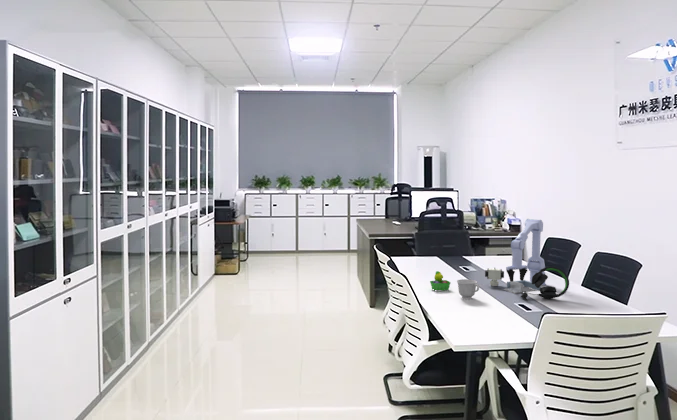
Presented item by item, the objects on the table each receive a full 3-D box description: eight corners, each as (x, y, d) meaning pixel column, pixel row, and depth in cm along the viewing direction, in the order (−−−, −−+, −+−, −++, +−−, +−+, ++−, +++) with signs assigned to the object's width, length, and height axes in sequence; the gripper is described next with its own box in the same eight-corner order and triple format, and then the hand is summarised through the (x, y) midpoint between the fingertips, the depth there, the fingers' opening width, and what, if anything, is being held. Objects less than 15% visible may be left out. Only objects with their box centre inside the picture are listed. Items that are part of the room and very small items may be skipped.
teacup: (471, 302, 276) (471, 285, 275) (452, 297, 288) (452, 280, 288) (485, 299, 282) (486, 283, 281) (466, 294, 295) (466, 278, 294)
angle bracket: (522, 293, 298) (523, 283, 297) (514, 294, 296) (515, 284, 295) (512, 289, 307) (512, 280, 307) (504, 290, 305) (504, 281, 305)
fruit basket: (434, 291, 303) (434, 273, 302) (428, 288, 312) (428, 270, 311) (451, 290, 305) (451, 272, 304) (445, 287, 314) (445, 270, 313)
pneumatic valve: (503, 287, 314) (504, 268, 313) (484, 285, 317) (485, 267, 316) (503, 285, 319) (504, 267, 318) (485, 284, 323) (485, 266, 322)
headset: (529, 312, 286) (573, 289, 284) (531, 308, 274) (578, 284, 272) (512, 286, 294) (555, 263, 292) (513, 281, 281) (559, 257, 280)
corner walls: (524, 285, 318) (524, 280, 318) (540, 290, 304) (541, 285, 304) (506, 287, 314) (506, 281, 314) (522, 292, 300) (522, 286, 299)
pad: (523, 286, 315) (523, 286, 315) (536, 290, 303) (536, 290, 303) (509, 287, 311) (509, 287, 311) (522, 292, 300) (522, 291, 300)
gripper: (511, 261, 294) (511, 283, 295) (531, 259, 299) (530, 281, 300) (504, 259, 301) (503, 280, 302) (523, 257, 306) (522, 279, 307)
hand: (516, 280), depth 302 cm, fingers open, 7 cm apart
